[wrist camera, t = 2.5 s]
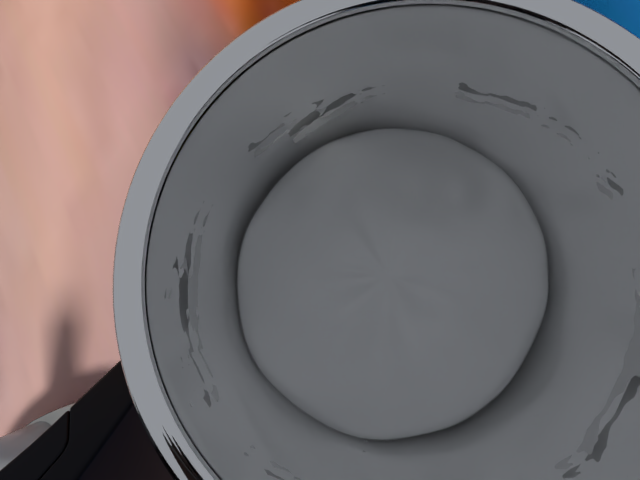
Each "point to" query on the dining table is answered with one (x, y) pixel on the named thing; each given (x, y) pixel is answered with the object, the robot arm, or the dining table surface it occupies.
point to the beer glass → (392, 249)
